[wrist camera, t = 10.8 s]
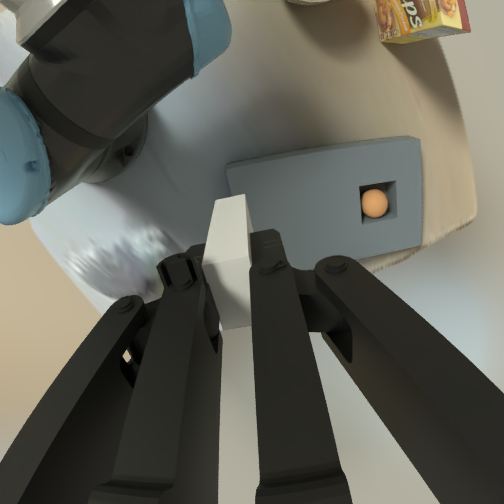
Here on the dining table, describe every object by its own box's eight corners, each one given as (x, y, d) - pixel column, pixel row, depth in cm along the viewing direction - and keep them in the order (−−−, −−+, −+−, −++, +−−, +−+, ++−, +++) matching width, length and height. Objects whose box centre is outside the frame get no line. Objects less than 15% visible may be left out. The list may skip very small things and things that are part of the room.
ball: (357, 216, 44) (372, 224, 40) (352, 190, 42) (367, 196, 39) (379, 208, 45) (394, 216, 41) (375, 183, 43) (391, 188, 39)
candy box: (368, -13, 29) (423, -49, 15) (395, -10, 29) (455, -39, 15) (379, 42, 33) (442, 25, 19) (405, 44, 33) (473, 33, 19)
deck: (250, 268, 48) (251, 280, 45) (226, 164, 41) (225, 169, 38) (410, 235, 46) (421, 245, 43) (408, 135, 39) (420, 139, 36)
